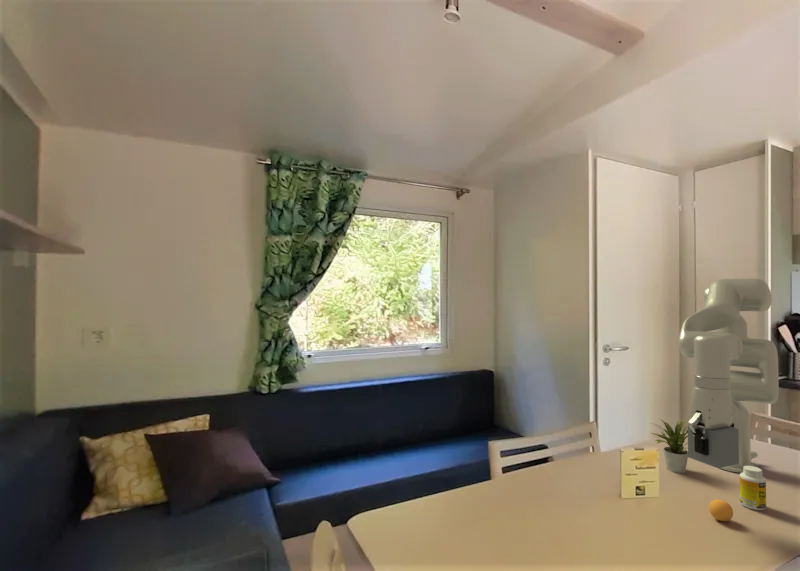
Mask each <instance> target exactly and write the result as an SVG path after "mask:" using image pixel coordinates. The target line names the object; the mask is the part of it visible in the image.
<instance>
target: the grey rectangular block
mask: <svg viewBox="0 0 800 571" xmlns="http://www.w3.org/2000/svg"><path fill="white" fill-rule="evenodd" d="M701 425H702V426H705V425H703V424H701ZM687 430H688V433H687V435H688V437H687V451H688V459H691V460H694V461H697V462H699V463H703V464H705V465H708V466H709V467H710V466H711V467H714V468H717V469H721V468H722V467H726V466H731V465H736V464H739V435H738V429H737V428H733V427H730V426H728V427H723V428H717V429H711V430H708V435H707V438H706V439H708V455H703V454H700V453H697V452H695V439H694V436H693V433H692V432H691V430H690V428H689V426H688V425H687ZM699 430H700V431H701V432H702V433H703V430H704V429H702V428H699Z"/></svg>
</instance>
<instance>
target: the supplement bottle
mask: <svg viewBox="0 0 800 571" xmlns="http://www.w3.org/2000/svg"><path fill="white" fill-rule="evenodd" d="M739 501H740V502H739V503H740V504H741V505H742V506H743V507H745V508H747V509H751V510H754V511H764V510H766V508H767V479H766V478H765V476H763V469H761V468H759V467H758V466H757V467H754V466H744V467H743V472H742V473H739Z"/></svg>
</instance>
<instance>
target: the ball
mask: <svg viewBox="0 0 800 571" xmlns="http://www.w3.org/2000/svg"><path fill="white" fill-rule="evenodd" d="M708 510H709V513H710V514H711V516H712V517H713V518H714V519H716V520H717V521H720V522H728V521H730V520H731V519H732V518H733V516H734V510H733V508H732V506H731V504H729V503H728V502H727V501H726V500H723V499H720V498H719V499H714V500H712V501H710V502H709V505H708Z"/></svg>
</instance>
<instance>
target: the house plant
mask: <svg viewBox="0 0 800 571" xmlns="http://www.w3.org/2000/svg"><path fill="white" fill-rule="evenodd" d="M659 420H660V421H661V422H662V423H663V425H664V427H665V428H666V429H665V428H662V426H660V425H659V424H656V423H654V425H655V426H656V427H657V428H659V429H661V431H659V432H660V433H661V434H659V433H656V432H655V433H654V432H650V434H652V435H654V436H653V438H657V439H655V441H654V442H656V444H660V443H666V445H667V446H664V447H663V448H662V449H663V450H662V451H663V456H664V461H665V466H666V470H667V471H669V472H673V473H676V474H685V473H686V471H687V465H688V459H689V457H688V450H687V447H685V446H686V445H688V442H687V443H685V440H686V439H688V423H686V425H685V426H684V428H683V425H684V423H685V421H686V420H685V419H683V420H681V421H680V422H679V420H678V421H677V422H676V425H675V427H674V429H673V428H672V426H671V425H670V424H669V423H668V422H665V421H664V420H663V419H662V418H659ZM650 424H652V425H653V423H651V422H650ZM682 429H683V430H682ZM681 431H682V432H681ZM666 434H667V435H666ZM659 438H661V439H659ZM662 439H663V440H662Z"/></svg>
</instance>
